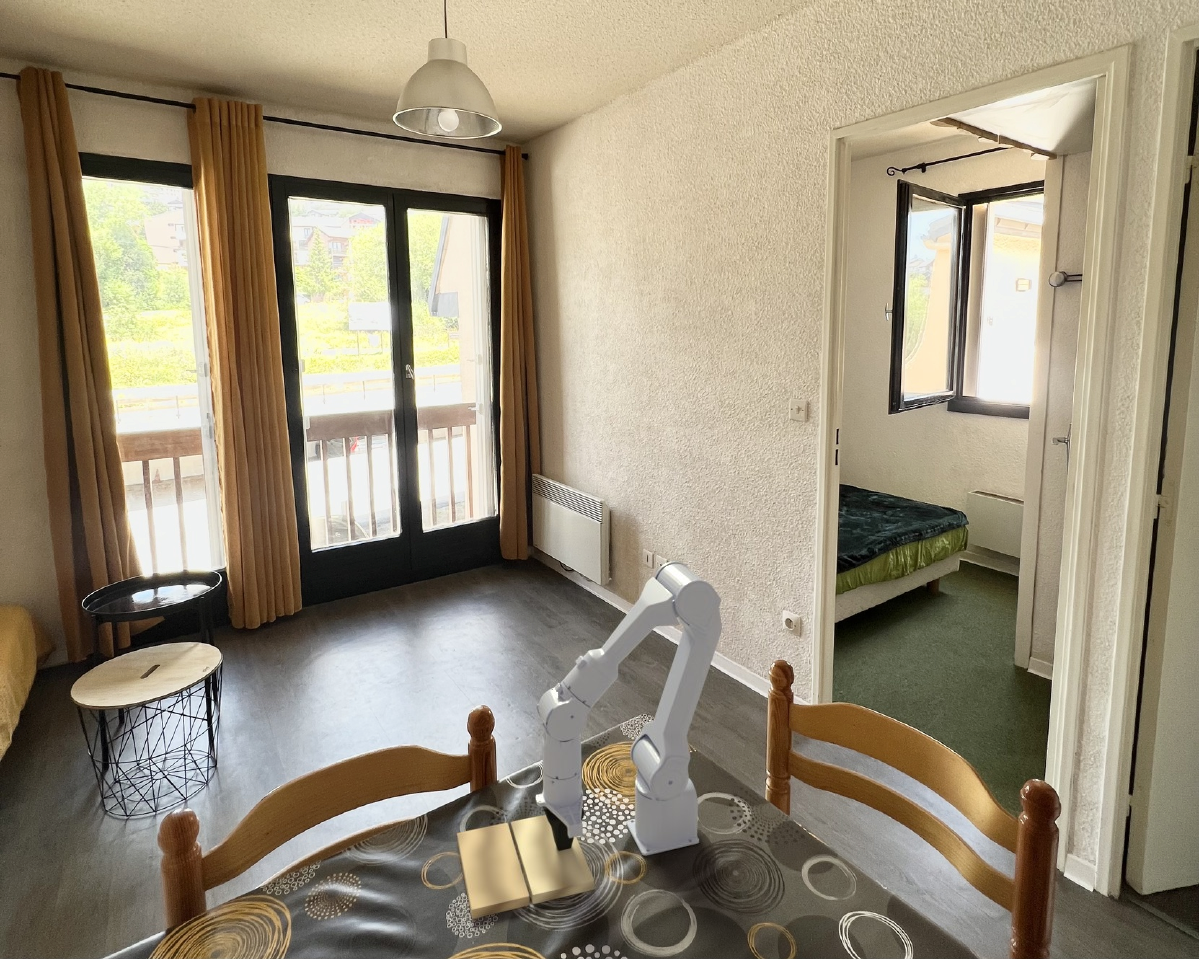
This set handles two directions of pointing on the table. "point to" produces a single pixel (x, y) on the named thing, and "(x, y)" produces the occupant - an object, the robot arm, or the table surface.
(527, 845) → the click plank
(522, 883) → the laid oak board
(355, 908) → the table surface
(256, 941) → the table surface
